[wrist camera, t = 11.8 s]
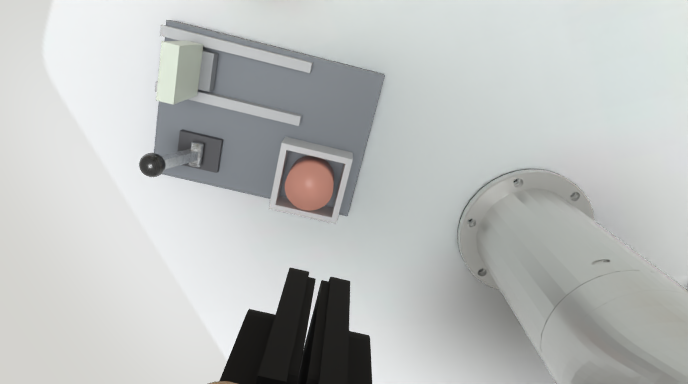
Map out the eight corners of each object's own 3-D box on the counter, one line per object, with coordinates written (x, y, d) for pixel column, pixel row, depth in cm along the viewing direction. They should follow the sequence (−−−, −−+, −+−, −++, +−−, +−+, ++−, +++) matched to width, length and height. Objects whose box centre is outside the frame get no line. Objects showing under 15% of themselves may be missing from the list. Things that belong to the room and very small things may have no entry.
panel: (383, 73, 37) (387, 77, 33) (347, 210, 41) (347, 226, 38) (173, 20, 36) (154, 18, 32) (159, 167, 40) (140, 179, 36)
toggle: (210, 145, 37) (154, 158, 31) (207, 167, 37) (151, 183, 31) (192, 138, 37) (134, 150, 31) (190, 160, 38) (132, 176, 32)
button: (338, 161, 38) (337, 171, 35) (328, 202, 39) (327, 215, 36) (294, 150, 38) (289, 159, 35) (285, 192, 39) (280, 204, 36)
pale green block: (219, 46, 35) (193, 49, 29) (212, 96, 36) (186, 107, 30) (181, 37, 34) (147, 37, 29) (176, 87, 36) (143, 97, 30)
